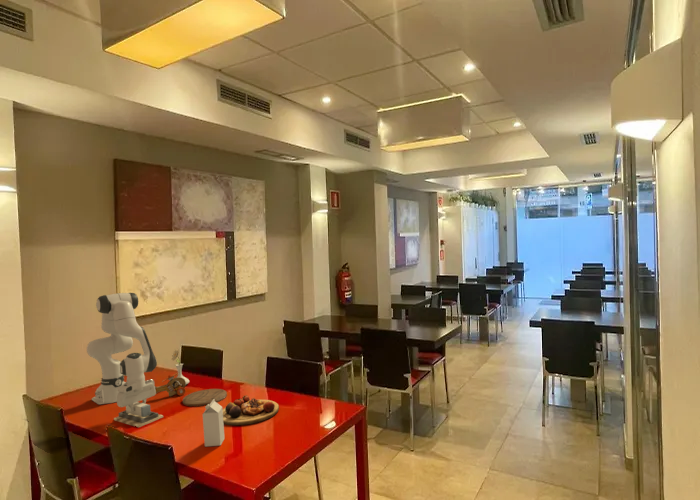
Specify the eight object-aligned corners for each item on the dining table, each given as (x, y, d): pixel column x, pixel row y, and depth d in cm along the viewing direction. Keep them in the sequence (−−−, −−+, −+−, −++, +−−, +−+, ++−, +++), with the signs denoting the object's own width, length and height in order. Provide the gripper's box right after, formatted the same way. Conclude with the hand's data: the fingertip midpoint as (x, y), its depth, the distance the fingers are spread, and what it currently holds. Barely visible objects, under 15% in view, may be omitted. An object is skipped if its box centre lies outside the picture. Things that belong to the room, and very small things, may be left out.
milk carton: (224, 438, 200) (221, 398, 200) (220, 445, 193) (217, 403, 192) (209, 439, 200) (206, 399, 199) (204, 447, 192) (201, 405, 192)
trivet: (233, 391, 268) (232, 388, 268) (216, 406, 243) (216, 403, 243) (194, 392, 270) (194, 389, 270) (174, 407, 245) (174, 404, 245)
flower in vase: (172, 384, 289) (169, 347, 289) (190, 381, 293) (187, 345, 292) (170, 390, 277) (167, 351, 276) (189, 387, 280) (186, 349, 280)
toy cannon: (187, 394, 266) (185, 372, 266) (151, 402, 255) (149, 379, 255) (184, 390, 273) (183, 369, 273) (149, 399, 262) (147, 376, 262)
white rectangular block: (126, 412, 234) (125, 403, 234) (133, 409, 237) (132, 400, 237) (143, 417, 225) (143, 407, 225) (150, 414, 229) (150, 404, 229)
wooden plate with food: (291, 408, 233) (290, 393, 233) (246, 431, 207) (245, 413, 207) (251, 400, 251) (250, 386, 251) (205, 420, 225) (203, 404, 225)
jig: (113, 420, 232) (113, 414, 231) (138, 410, 243) (138, 405, 243) (138, 427, 219) (138, 421, 219) (163, 417, 231) (162, 411, 231)
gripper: (150, 377, 242) (152, 401, 242) (114, 389, 224) (116, 415, 224) (157, 378, 238) (159, 403, 238) (121, 390, 221) (123, 417, 221)
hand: (138, 409), depth 231 cm, fingers closed on white rectangular block, 4 cm apart
